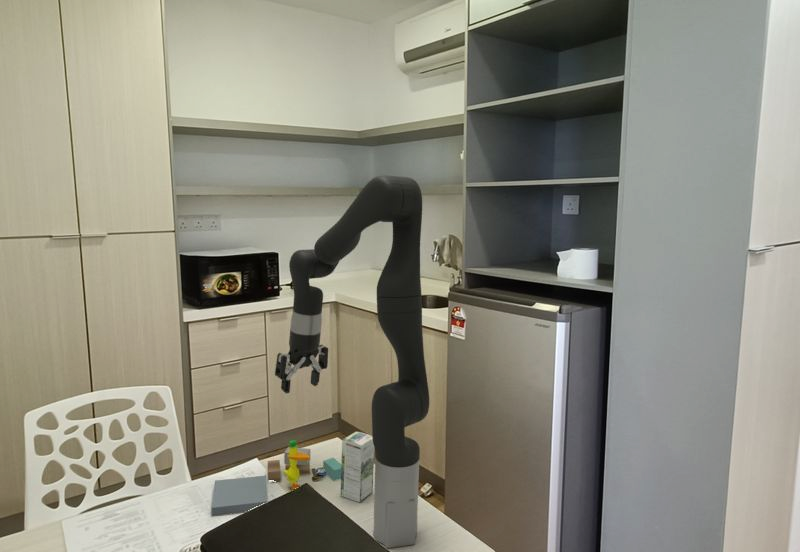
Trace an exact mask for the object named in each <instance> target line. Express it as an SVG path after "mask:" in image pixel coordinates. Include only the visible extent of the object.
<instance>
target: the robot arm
mask: <svg viewBox="0 0 800 552" xmlns="http://www.w3.org/2000/svg"><path fill="white" fill-rule="evenodd" d="M422 218H423V195H422V190H421V188H420V185H419V184H418V183H417V181H416V180H415V179H413V178H412V177H408V176H407V177H406V176H397V175H396V176H395V175H384V174H383V175H378V176H374V177H373V178H371V179H370V180H369V181H368V182H367V183H366V184H365V185H364V186H363V188H362V189H361V191H360V192H359V193H358V195H357V196H356V198H355V199H354V200H353V201H352V202H351V204H350V206H349V207H347V209H346V210H345V212H344V214H342V216H341V217H340V219H339V220H337V222H335V224H333V225H332V227H330V228H329V229H328V230H327V231H325V232H324V233H323V234H322V235H321V236H320V237H319V238H318V239H317V240H316V241H315V244H314V247H313V249H298V250H296V251H294V252H293V254H292V255H291V256H290V259H289V263H288V264H289V272H290V273H289V274H290V277H291V282H292V283H291V284H292V289H293V306H292V307H293V308H292V313H291V318H290V329H289V339H288V345H289V351H288V353H284V354H283V353H281V352H278V354H277V356H276V364H275V371H274V375H275V376H276V377H277V378H278V379H280V380H281V382H280V383H281V384H280V385H281V386H280V389H281V391H282V392H283V393H285V394H286V395H287V394H290V392H291V381H292V380H291V379H292V376H293V375H294V374H296V373H297V372H298V371H299V370H300V369H304V368H308V367H311V368H312V369H311V375H310V384H311V385H312V386H314V387H316V386H318V385H319V383H320V376H321V372H322V370H326V369H327V368H328V363H329V362H328V359H329V348H328V347H327V346H325V345H324V344H320V343H321V333H322V323H323V322H322V321H323V320H322V319H323V317H322V316H323V315H322V313H323V304H324V303H323V301H324V292H323V290H322V289H321V288H320V287H317V286H313V285H310V280H311V279H322V278H325V277H328V276H329V275H331V274H333V272H335V269H336V267H337V266H338V265H339V263H340V261H341V260H343V259H344V258H346V257H347V256H348V255H349V254H350V253H351V252H353V251H354V250H355V249H356V248H357V246H358V244H359V243H360V240H361V235H362V232H363V231H364V230H366V229H367V228H368V227H371V226H372V225H375V224H377V223H379V222H381V223H392V243H391V244H392V245H391V249H390V253H389V255H388V258H387V260H386V262H385V264H384V266H383V269H382V271H381V274H380V276H379V278H378V281H377V284H376V311H377V312H376V313H377V314H376V315H377V320H378V324H379V326H380V328H381V330H382V332H383V334H384V335H385V337H386V338H387V340H388V342H389V343H390V345H391V347H392V348H393V350H394V353H395V356H396V360H397V361H396V362H397V370H398V372H397V373H398V378H397V381H394V382H392V383H391V382H390V383H388V384H385V385H382V386H380V387H378V388H377V389H376V390H375V391H374V393H373V396H372V399H371V429H372V432H371V434H372V435H371V436H372V438H373V444H374V453H375V456H374V466H375V467H374V492H373V493H374V495H373V496H374V497H373V498H374V499H373V500H374V501H373V503H374V504H373V537H374V538H375V540H376V541H377V542H378V543H379V544H382V545H384V547H385V548H386V549H390V548H392V549H393V548H397V547H405V546H411V545H415V544H416V538H417V534H418V531H417V530H418V511H419V509H418V507H419V503H418V502H419V501H418V500H419V482H420V481H419V478H420V477H419V476H420V474H419V473H420V456H421V453H420V452H421V449H420V445H419V443H418V442H417V441H416V440H415V439H413V438H410V437H408V436H405V435H406V434H405V428H407V427H408V426H412V425H415V424H417V423H420V422H422V421H423V420H424V419H425V418H426V417H427V415H428V414H429V409H430V391H429V383H428V376H427V369H426V361H425V352H424V337H423V336H424V335H423V334H424V333H423V301H422V299H423V298H422V284H421V282H422V281H421V238H422V237H421V236H422V235H421V234H422V220H423V219H422ZM317 356H318V361H317V359H316V358H317ZM292 365H293V367H292Z"/></svg>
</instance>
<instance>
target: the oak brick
mask: <svg viewBox="0 0 800 552" xmlns="http://www.w3.org/2000/svg"><path fill="white" fill-rule="evenodd" d="M310 464H311V463H310V461H309V463H308V465H296V467H297V468H298V469H299V476H300V475H308V474H311V473H310V469H311V468H310V466H311V465H310ZM284 467H285V468H284V470H288V469H289V468H290V464H284Z"/></svg>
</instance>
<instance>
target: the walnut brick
mask: <svg viewBox="0 0 800 552" xmlns="http://www.w3.org/2000/svg"><path fill="white" fill-rule="evenodd" d="M268 480H274V481H276V482H275V483H281V463H280V459H276V460H274V459H273V460H267V481H268Z"/></svg>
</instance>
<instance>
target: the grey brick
mask: <svg viewBox="0 0 800 552" xmlns="http://www.w3.org/2000/svg"><path fill="white" fill-rule="evenodd" d="M297 452H300V453H305V454H308V455H309V456H310V457H311V448H301V447H298V449H297ZM283 453H284V455H283V456H284V461H283V464H284V465H285V464H290V460H289V458H287V456H288V455H289V446H288V447H287V448H286V449H285V451H284V452H283ZM310 461H311V458H310V459H308V460H307V461H298V460H297V465H308V463H309V462H310Z"/></svg>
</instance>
